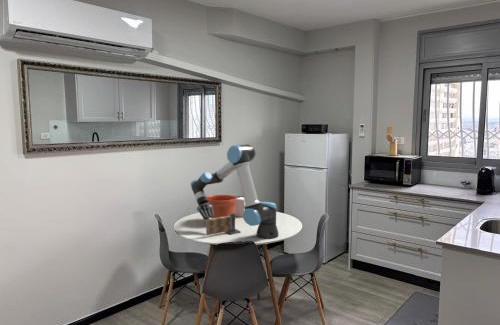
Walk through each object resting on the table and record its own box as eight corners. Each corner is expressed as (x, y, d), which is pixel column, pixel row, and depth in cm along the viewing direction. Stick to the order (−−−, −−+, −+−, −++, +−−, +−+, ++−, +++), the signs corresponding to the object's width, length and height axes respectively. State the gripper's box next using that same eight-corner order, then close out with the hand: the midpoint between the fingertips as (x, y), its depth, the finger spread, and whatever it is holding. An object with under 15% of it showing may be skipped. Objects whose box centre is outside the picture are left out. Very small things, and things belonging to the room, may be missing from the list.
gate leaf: (229, 230, 257) (229, 215, 256) (230, 230, 255) (231, 216, 254) (206, 234, 246) (206, 219, 245) (207, 235, 245) (207, 219, 244)
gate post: (234, 230, 263) (234, 211, 262) (240, 232, 256) (240, 213, 255) (224, 231, 258) (224, 213, 257) (230, 234, 252) (230, 215, 251)
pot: (212, 216, 302) (212, 193, 300) (240, 218, 295) (241, 195, 293) (199, 224, 278) (199, 199, 276) (230, 227, 271) (230, 201, 269)
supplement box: (244, 217, 299) (244, 199, 298) (234, 216, 304) (235, 198, 302) (249, 215, 307) (250, 197, 305) (240, 214, 311) (241, 196, 310)
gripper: (207, 200, 272) (219, 227, 260) (191, 202, 264) (202, 230, 252) (211, 195, 267) (222, 222, 255) (195, 196, 259) (206, 225, 247)
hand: (212, 226), depth 254 cm, fingers closed
